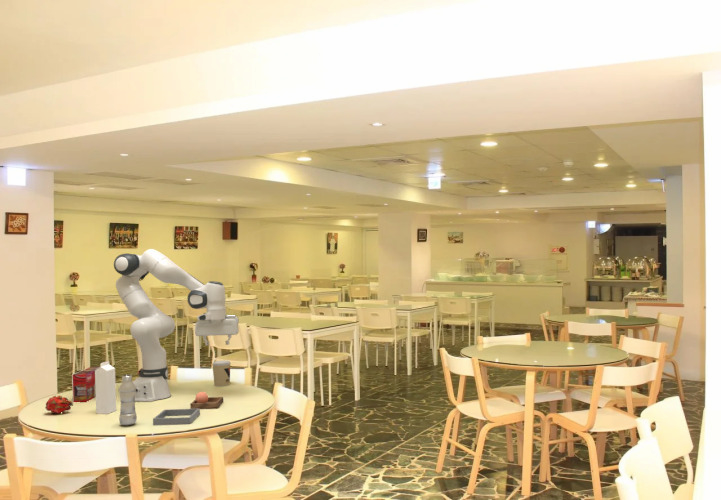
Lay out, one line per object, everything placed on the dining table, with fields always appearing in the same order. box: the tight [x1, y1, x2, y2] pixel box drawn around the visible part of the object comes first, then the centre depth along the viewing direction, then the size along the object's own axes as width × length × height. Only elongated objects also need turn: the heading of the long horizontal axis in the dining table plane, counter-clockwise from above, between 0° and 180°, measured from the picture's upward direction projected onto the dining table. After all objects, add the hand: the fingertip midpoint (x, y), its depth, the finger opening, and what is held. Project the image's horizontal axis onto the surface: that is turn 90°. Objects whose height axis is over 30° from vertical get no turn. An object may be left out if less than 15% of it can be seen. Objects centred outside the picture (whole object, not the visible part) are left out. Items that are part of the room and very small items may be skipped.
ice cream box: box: [71, 366, 100, 403], centre depth 309 cm, size 20×6×13 cm, turn 1°
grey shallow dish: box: [152, 408, 201, 426], centre depth 261 cm, size 15×15×2 cm
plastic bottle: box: [118, 374, 138, 426], centre depth 255 cm, size 6×7×20 cm
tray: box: [189, 396, 224, 410], centre depth 284 cm, size 12×12×2 cm
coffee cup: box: [212, 360, 231, 388], centre depth 329 cm, size 9×9×12 cm
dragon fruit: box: [44, 395, 74, 414], centre depth 278 cm, size 8×8×12 cm
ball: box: [194, 391, 209, 403], centre depth 284 cm, size 6×6×6 cm
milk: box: [95, 360, 117, 415], centre depth 278 cm, size 6×6×22 cm
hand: (217, 344), depth 299 cm, fingers open, 8 cm apart
